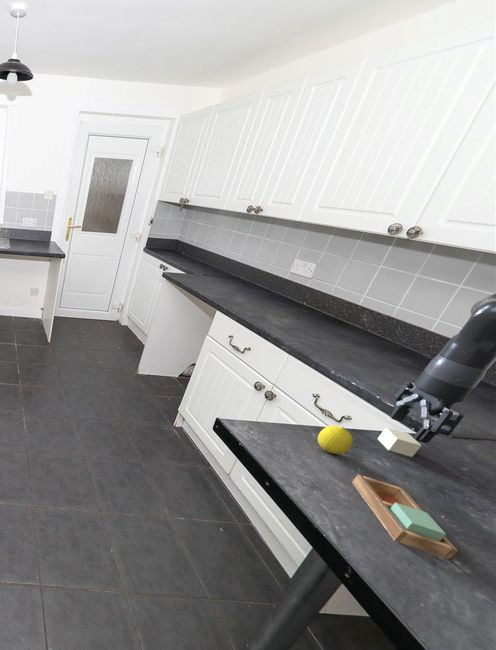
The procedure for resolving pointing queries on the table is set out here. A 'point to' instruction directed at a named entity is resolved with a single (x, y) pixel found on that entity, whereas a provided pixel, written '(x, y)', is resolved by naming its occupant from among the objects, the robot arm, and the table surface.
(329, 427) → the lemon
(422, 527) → the sage pad
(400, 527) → the pad holder
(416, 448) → the cream pad
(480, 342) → the robot arm
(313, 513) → the table surface
